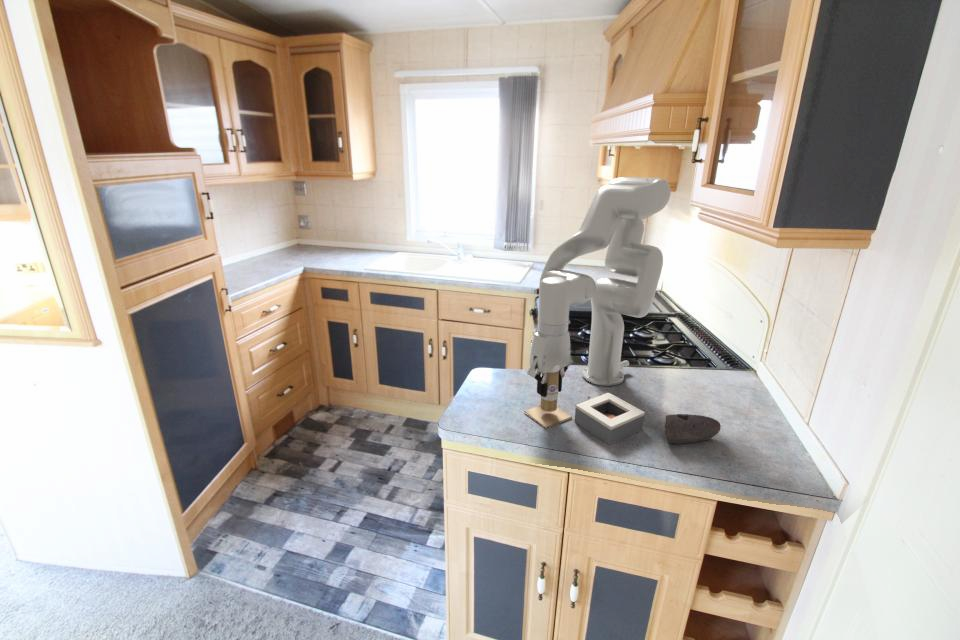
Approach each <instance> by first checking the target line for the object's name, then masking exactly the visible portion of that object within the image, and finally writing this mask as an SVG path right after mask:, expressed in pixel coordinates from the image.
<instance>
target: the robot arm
mask: <svg viewBox="0 0 960 640" xmlns="http://www.w3.org/2000/svg"><path fill="white" fill-rule="evenodd" d="M670 185H671V184H670V183H669V182H668V181H667V179H664V178H662V177H661V178H660V177H640V176H639V177H637V176H622V177H616V178H613V179H612V180H610V182H609V183H608V184H606V185H603V186H601V187H600V188H598V190H597V191H596V193H595V195H594V197H593V199H592V202H591V203H590V206H589V208H588V209H587V212H586V214H585V217H584V219H583V221H582V223H581V225H580V227H579V230H578V231H577V232H576V233H575V234H573V235H572V236H570V237H568V238H567V239H566V240H564V241H563V242H562V243H561V244H560V245H558V246H557V247H556V248H554V250H553V251H552V252H551V254H550V256H549V257H548V260H547V261H546V263H545V265H544V268H543V269H542V273H541V275H540V279H539V286H538V287H539V289H538V305H537V307H538V309H537V331H536V332H534V335H533V338H532V341H531V347H530V348H531V349H530V357H529V368H528V370H527V375H529V376H530V377H532V378H534V379H535V381H536V393H537V394H538V395H540V397H541V396H543V397H546V396H547V383H546V377H547V373H548V372H550V371H552V370H553V368H554V367H555V366H557V365H559V366H560V370H559V383H558V393H560V392H562V390H563V389H562V388H563V386H562V385H563V378H564V377H565V373H566V372H567V371H568V369H569V368H570V366H571V365H572V364H573V362H574V361H573V359H572V358H571V338H570V337H571V335H570V332H569V325H570V324H571V320H570V306H575V305H583V304H586V303H587V302H589V301H590V304H591V326H590V334H589V335H590V336H589V349H588V360H587V361H588V363H587V366H586V367H584V368H583V369H582V372H581V374H582V378H583V377H584V378H585V379H586V380H585V379H584V378H583V379H584V380H585V381H586V382H588V381H589V382H588V383H590V382H591V383H590V384H593V385H597V386H601V387H602V386H603V387H611V386H617V385H619V384H622V383H623V382H624V377H625V375H624V373H623V372H622V370H623V368H626V367H629V366H630V362H629V360H623V361H622V360H621V358H622V349H623V341H624V340H623V339H624V333H625V324H624V322H625V321H624V319H623V315H625V316H629V317H634V318H643V317H646V316H647V315H648V314H649V313H650V311H651V308H652V306H653V302H654V299H655V296H656V295H655V294H656V292H657V289H658V286H659V285H658V284H659V280H660V278H661V273H662V271H663V270H662V269H663V263H664V257H663V253H662V250H661V249H660V248H659V247H656V246H654V245H649V244H644V243H642V239H643V234H644V231H645V225H644V222H643V220H645V219H648V218H649V217H651V216H653V215H655V214H657V213H659V212H660V211H662V210H663V209H664V208H665V207H666V205H668V203H669V201H670V197H671V192H672V191H671V190H672V189H671V186H670ZM605 248H607V251H606V254H605V259H604V268H605V270H607V272H609V273H611V274H615V275H619V276H623V277H630V278H634V279H637V282H635V281H628V280H625V279H619V278H613V277H601V278H598V279H597V280H594V279H593V277H591V276H590V275H588V274H584V273H580V272H575V271H570V270H565V268H566V266H567V265H568V264H570V262H572V261H573V260H575V259H577V258H579V257H582V256H584V255H588V254H592V253H594V252H598V251H601V250H603V249H605Z"/></svg>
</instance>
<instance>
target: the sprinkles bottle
mask: <svg viewBox="0 0 960 640" xmlns="http://www.w3.org/2000/svg"><path fill="white" fill-rule="evenodd" d="M559 370H560V366H559V365H557V366H555V367H554V368H553V370H552V371H550V372H548V373H547V377H546V383H547V396H546V397H543V396H541V395H540V403H539V404H540V408H541V409H542V410H544V411H547V412H552V411H555V410H556V409H557V407H558V397H559V396H558V395H559V392H558V383H559Z"/></svg>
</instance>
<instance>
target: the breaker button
mask: <svg viewBox="0 0 960 640" xmlns="http://www.w3.org/2000/svg"><path fill="white" fill-rule="evenodd" d="M602 414H603V415H605V416H607V417H608V418H610V419H612V418H614V417H617V416H615V415H613V414H612V413H610V414H609V413H602Z"/></svg>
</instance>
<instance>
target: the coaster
mask: <svg viewBox="0 0 960 640" xmlns="http://www.w3.org/2000/svg"><path fill="white" fill-rule="evenodd" d="M524 412H525V413H527V414H528V415H529V416H530V417H532V418H533V419H534V420H535V421H534V420H533V419H532V418H531V419H532V420H533V421H534V422H536V421H537V422H538V423H539V425H540V424H541V425H542V426H541V425H540V426H541V427H542V428H544V427H545V428H546V429H548V428H547V427H549V428H551V427H554V426H556V425H558V423H559V424H561V423H560V422H562V423H564V422H566V420H567V421H569V420H571V419H573V416H572V415H571V414H569V413H568V412H566V411H564V410H563V409H561V408H560V407H559V406H557V409H556V410H555V411H552V412H547V411H544V410H542V409H541V408H540V405H537V406H534V407H531V408H529V409H528V408H527V409H526V410H523V413H524ZM525 413H524V414H525ZM528 415H527V416H528ZM529 416H528V417H529ZM530 417H529V418H530ZM537 422H536V423H537ZM538 423H537V424H538ZM555 424H556V425H555ZM553 425H554V426H553ZM550 426H551V427H550ZM545 428H544V429H545Z"/></svg>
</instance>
